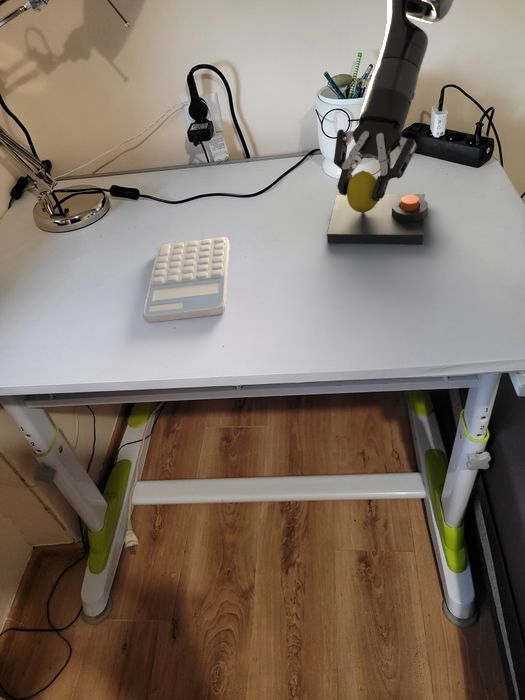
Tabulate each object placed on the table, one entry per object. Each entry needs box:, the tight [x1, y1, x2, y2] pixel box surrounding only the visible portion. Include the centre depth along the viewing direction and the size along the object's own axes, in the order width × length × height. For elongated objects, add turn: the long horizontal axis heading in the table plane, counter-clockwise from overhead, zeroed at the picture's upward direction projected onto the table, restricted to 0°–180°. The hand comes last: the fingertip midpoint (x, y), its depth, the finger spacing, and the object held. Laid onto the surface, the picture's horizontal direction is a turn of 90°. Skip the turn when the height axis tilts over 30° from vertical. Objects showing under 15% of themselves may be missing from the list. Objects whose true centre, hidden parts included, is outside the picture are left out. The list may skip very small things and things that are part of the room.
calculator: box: [142, 236, 230, 323], centre depth 86 cm, size 13×20×2 cm, turn 0°
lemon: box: [347, 169, 377, 214], centre depth 88 cm, size 6×6×8 cm
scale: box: [326, 193, 429, 245], centre depth 90 cm, size 16×13×4 cm
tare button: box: [401, 195, 419, 211], centre depth 87 cm, size 3×3×2 cm
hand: (358, 196), depth 86 cm, fingers closed on lemon, 5 cm apart
